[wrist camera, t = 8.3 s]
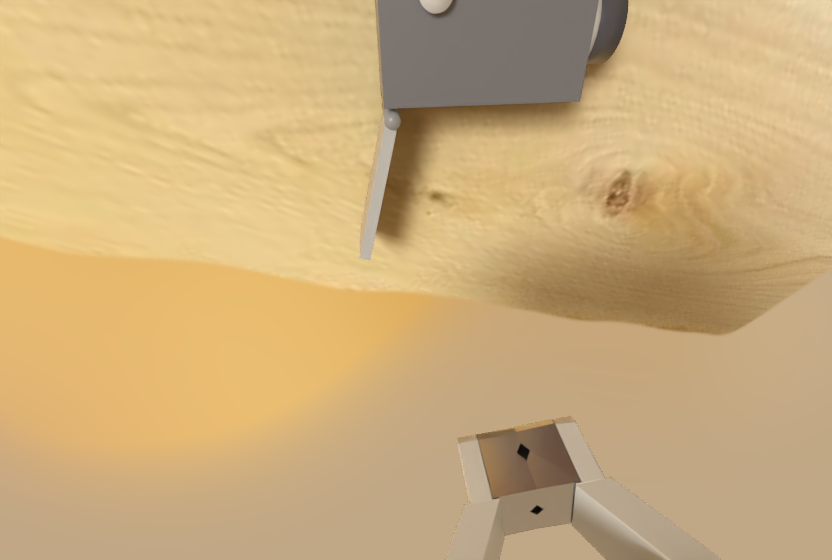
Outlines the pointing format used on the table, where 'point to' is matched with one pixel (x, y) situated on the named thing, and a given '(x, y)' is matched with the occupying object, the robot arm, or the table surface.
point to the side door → (378, 179)
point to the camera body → (492, 49)
